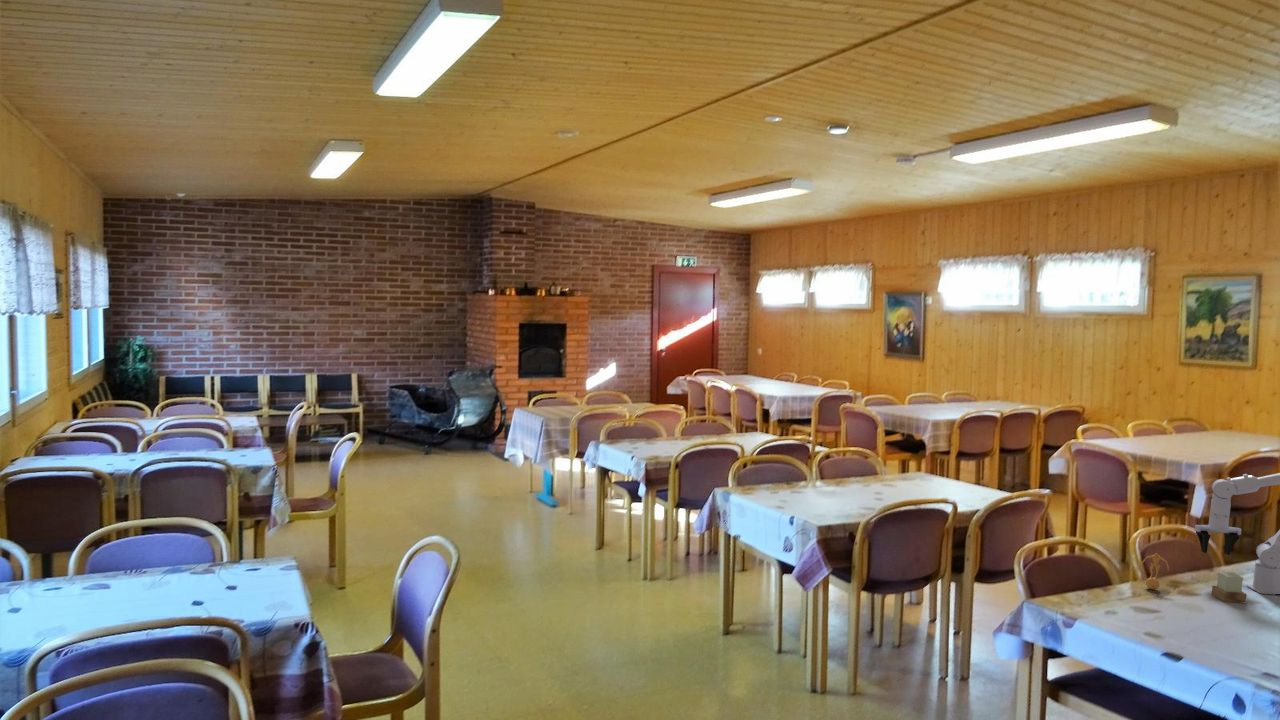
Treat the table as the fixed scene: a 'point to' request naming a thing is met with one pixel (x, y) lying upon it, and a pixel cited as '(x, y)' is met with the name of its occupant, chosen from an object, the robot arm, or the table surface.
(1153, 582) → the figurine
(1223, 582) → the sage cube
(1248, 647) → the table surface
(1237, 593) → the walnut block
